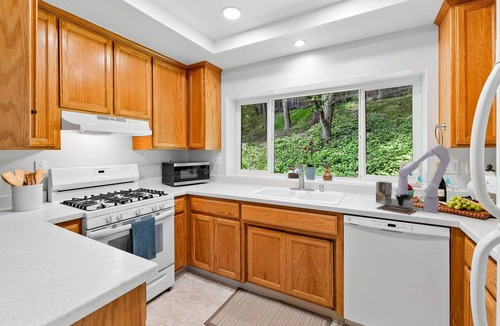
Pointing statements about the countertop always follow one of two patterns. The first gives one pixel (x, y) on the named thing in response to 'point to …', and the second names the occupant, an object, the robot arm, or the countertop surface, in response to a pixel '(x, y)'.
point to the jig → (397, 209)
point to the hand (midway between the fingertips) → (402, 205)
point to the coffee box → (383, 192)
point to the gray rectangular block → (406, 203)
